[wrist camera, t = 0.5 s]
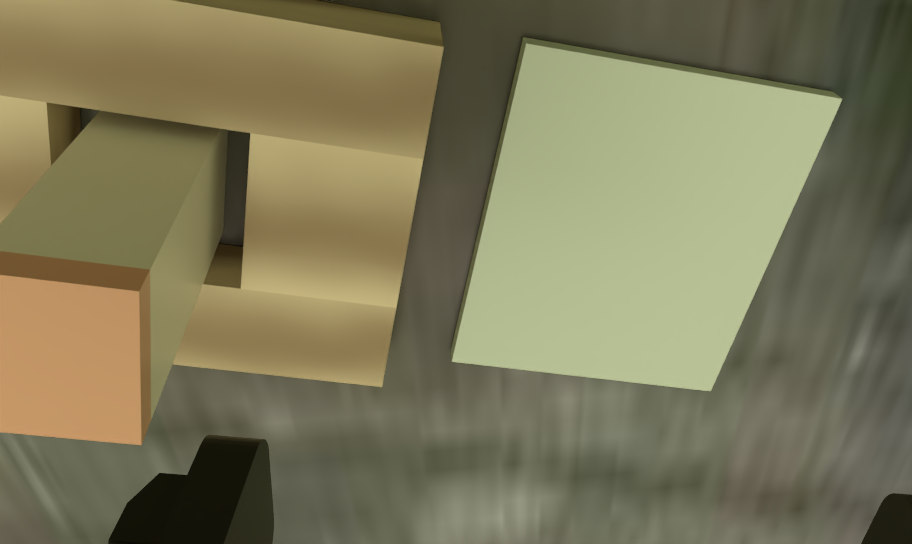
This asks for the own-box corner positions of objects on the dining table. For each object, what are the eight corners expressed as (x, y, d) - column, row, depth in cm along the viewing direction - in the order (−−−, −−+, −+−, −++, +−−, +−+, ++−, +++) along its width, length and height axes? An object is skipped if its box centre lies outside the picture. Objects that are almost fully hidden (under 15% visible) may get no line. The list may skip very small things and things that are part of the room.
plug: (114, 94, 29) (-41, 269, 19) (229, 111, 30) (139, 291, 19) (117, 216, 31) (-17, 430, 21) (223, 230, 32) (141, 445, 22)
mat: (523, 37, 29) (526, 43, 28) (832, 91, 30) (842, 99, 30) (450, 350, 36) (451, 361, 35) (705, 379, 38) (710, 391, 37)
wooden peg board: (-122, -78, 26) (-179, -60, 23) (439, 22, 28) (443, 47, 26) (-61, 291, 33) (-100, 334, 30) (383, 342, 35) (381, 386, 33)
